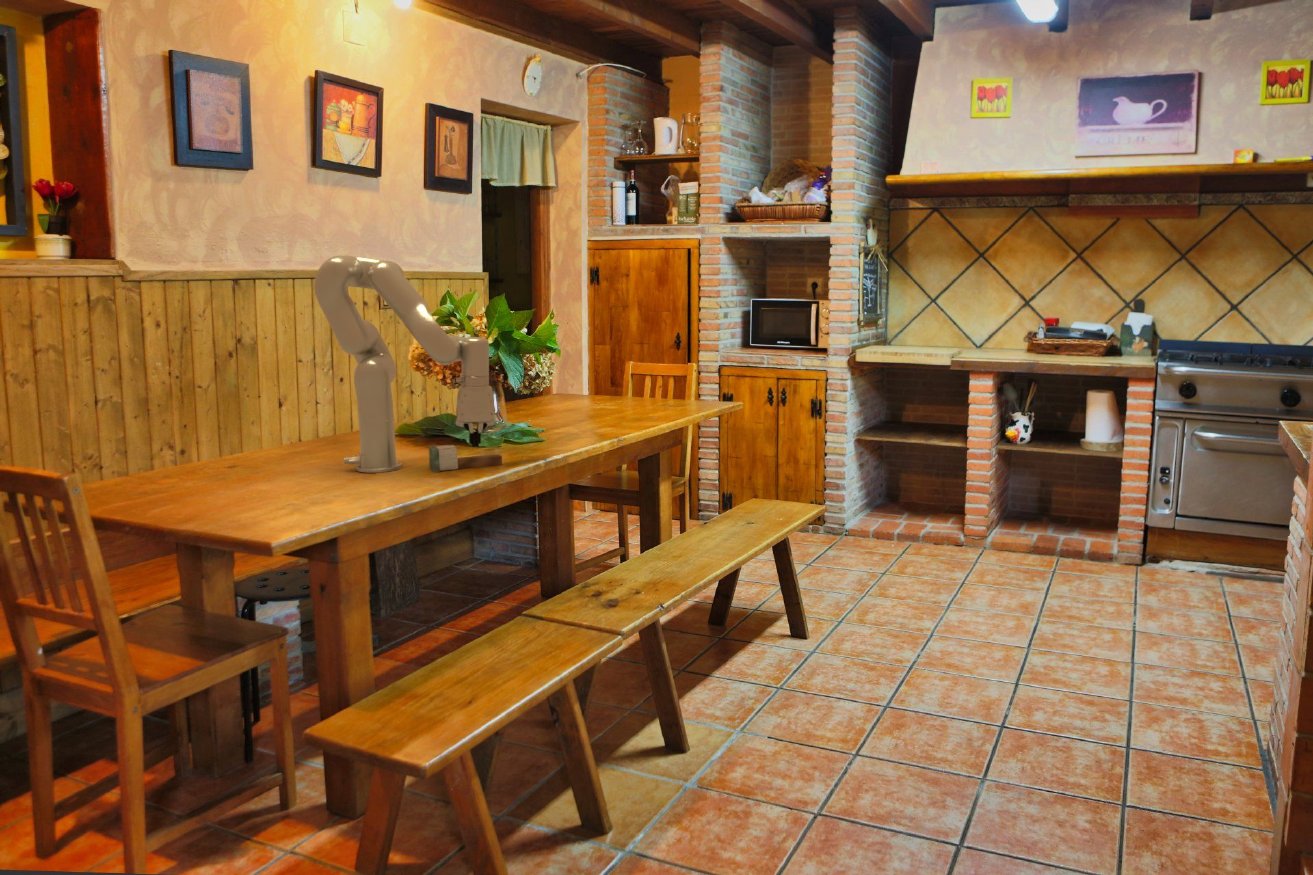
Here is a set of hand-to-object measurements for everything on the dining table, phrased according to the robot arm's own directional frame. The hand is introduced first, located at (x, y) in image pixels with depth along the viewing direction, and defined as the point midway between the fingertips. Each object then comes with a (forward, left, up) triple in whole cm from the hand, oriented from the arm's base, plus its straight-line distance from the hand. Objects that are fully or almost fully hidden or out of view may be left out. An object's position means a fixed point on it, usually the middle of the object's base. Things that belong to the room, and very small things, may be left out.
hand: (474, 446), depth 293 cm
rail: (-2, 0, -6) cm, 6 cm away
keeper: (-8, 0, -5) cm, 10 cm away
